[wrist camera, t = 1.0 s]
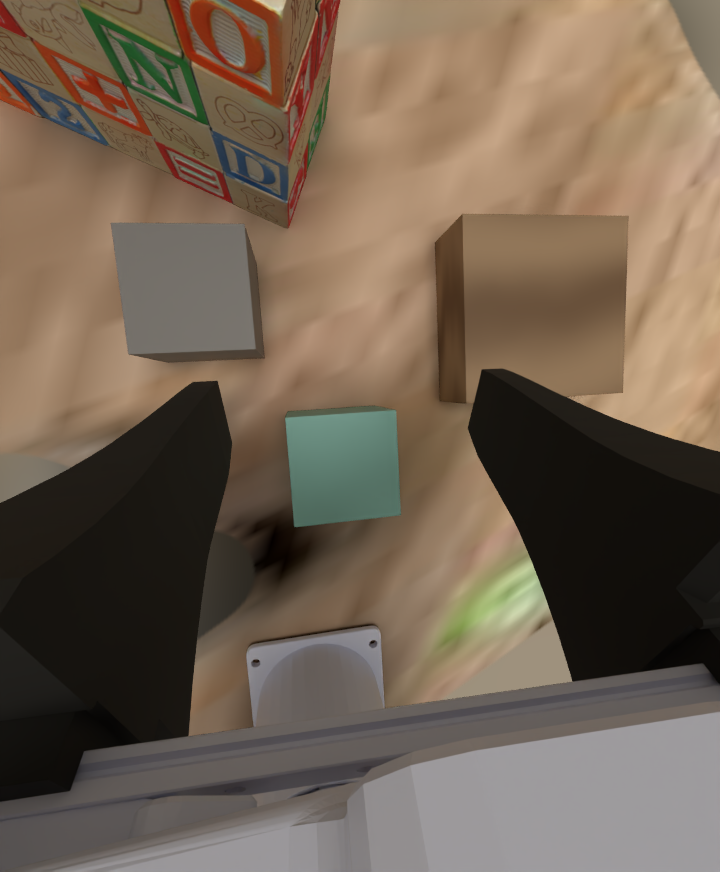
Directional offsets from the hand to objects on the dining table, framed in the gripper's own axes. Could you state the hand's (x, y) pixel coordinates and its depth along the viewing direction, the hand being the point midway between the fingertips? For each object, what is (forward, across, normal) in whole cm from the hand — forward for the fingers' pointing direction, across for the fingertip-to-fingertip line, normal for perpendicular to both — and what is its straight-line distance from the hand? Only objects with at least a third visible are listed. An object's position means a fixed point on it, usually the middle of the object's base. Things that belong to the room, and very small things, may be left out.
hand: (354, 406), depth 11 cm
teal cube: (+8, 0, +8) cm, 12 cm away
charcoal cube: (+12, +6, +2) cm, 14 cm away
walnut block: (+13, -11, +3) cm, 17 cm away
